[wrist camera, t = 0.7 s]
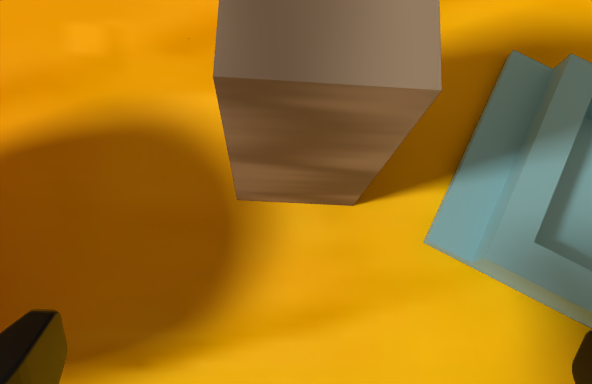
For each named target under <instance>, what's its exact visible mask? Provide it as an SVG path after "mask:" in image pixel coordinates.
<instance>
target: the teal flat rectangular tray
mask: <svg viewBox="0 0 592 384" xmlns="http://www.w3.org/2000/svg"><path fill="white" fill-rule="evenodd" d="M423 243H425V244H427V245H429V246H431V247H433V248H435V249H437V250H439V251H441V252H443V253H445V254H447V255H449V256H451V257H453V258H455V259H457V260H459V261H461V262H463V263H464V264H466V265H468V266H470V267H472V268H474V269H476V270H478V271H480V272H482V273H484V274H486V275H488V276H490V277H492V278H494V279H496V280H498V281H500V282H502V283H504V284H506V285H508V286H509V287H511V288H513V289H515V290H517V291H519V292H521V293H523V294H525V295H527V296H529V297H531V298H533V299H535V300H537V301H539V302H541V303H543V304H545V305H547V306H549V307H551V308H553V309H554V310H556V311H558V312H560V313H562V314H564V315H566V316H568V317H570V318H572V319H574V320H576V321H578V322H580V323H582V324H584V325H586V326H588V327H590V328H592V63H590V62H588V61H586V60H584V59H582V58H580V57H578V56H576V55H573V54H570V55H569V56H568V57H567V58H566V59H564V60H563V61H562V62H561V63H560V64H559V65H558V66H556V67H555V68H554V69H552V68H550V67H548V66H546V65H544V64H542V63H539V62H537V61H535V60H533V59H531V58H529V57H527V56H525V55H523V54H521V53H519V52H517V51H515V50H513V51H512V52H511V54H510V55H509V56H508V57H507V60H506V62H505V64H504V66H503V68H502V71H501V73H500V75H499V77H498V79H497V82H496V84H495V86H494V88H493V90H492V93H491V95H490V97H489V99H488V101H487V104H486V106H485V108H484V110H483V112H482V115H481V117H480V119H479V121H478V124H477V126H476V128H475V130H474V132H473V135H472V137H471V139H470V141H469V143H468V146H467V148H466V150H465V152H464V154H463V157H462V159H461V161H460V163H459V165H458V168H457V170H456V172H455V174H454V176H453V179H452V181H451V183H450V185H449V187H448V190H447V192H446V194H445V196H444V198H443V201H442V203H441V205H440V207H439V209H438V212H437V214H436V216H435V218H434V220H433V223H432V225H431V227H430V229H429V231H428V234H427V236H426V238H425V240H424V242H423Z"/></svg>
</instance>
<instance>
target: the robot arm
mask: <svg viewBox="0 0 592 384" xmlns="http://www.w3.org/2000/svg"><path fill="white" fill-rule="evenodd" d="M66 355H67V343H66V339H65V334H64V329H63V324H62V319H61V316H60V314H59V312H58V311H56V310H43V309H35V310H31V311H29V312H28V313H26V314H25V315H24V316H22V317H21V318H20V319H18V320H17V321H16V322H14V323H13V324H12V325H10V326H9V327H8V328H6V329H5V330H4V331H2V332H1V333H0V384H59V382H60V378H61V375H62V371H63V368H64V364H65V360H66ZM572 374H573V378H574V381H575V384H592V330H590V331H588V332H587V333H586V334H585V336H584V338H583V341H582V343H581V345H580V347H579V349H578V351H577V353H576V356H575V358H574V360H573V364H572Z"/></svg>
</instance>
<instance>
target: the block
mask: <svg viewBox="0 0 592 384" xmlns="http://www.w3.org/2000/svg"><path fill="white" fill-rule="evenodd" d="M213 79H214V84H215V89H216V94H217V99H218V104H219V109H220V114H221V119H222V124H223V130H224V135H225V140H226V145H227V150H228V155H229V160H230V165H231V170H232V175H233V180H234V185H235V190H236V196H237V200H247V201H268V202H288V203H308V204H328V205H348V206H353V205H354V204H355V203H356V201H357V200H358V199H359V197H360V196H361V195H362V194H363V192H364V191H365V190H366V188H367V187H368V186H369V184H370V183H371V182H372V181H373V179H374V178H375V177H376V175H377V174H378V173H379V171H380V170H381V169H382V168H383V166H384V165H385V164H386V162H387V161H388V160H389V158H390V157H391V156H392V155H393V153H394V152H395V151H396V149H397V148H398V147H399V145H400V144H401V143H402V142H403V140H404V139H405V138H406V136H407V135H408V134H409V132H410V131H411V130H412V129H413V127H414V126H415V125H416V123H417V122H418V121H419V119H420V118H421V117H422V116H423V114H424V113H425V112H426V110H427V109H428V108H429V106H430V105H431V104H432V103H433V101H434V100H435V99H436V97H437V96H438V95H439V93H440V92H441V91H442V75H441V41H440V6H439V0H219V8H218V20H217V33H216V45H215V58H214V70H213Z"/></svg>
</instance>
